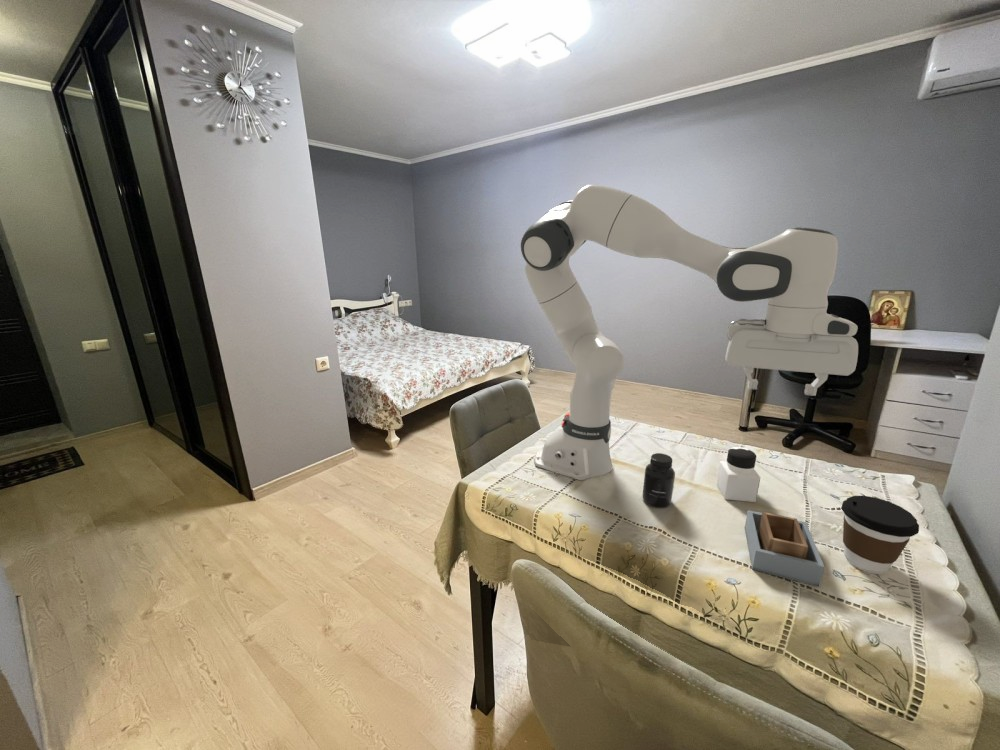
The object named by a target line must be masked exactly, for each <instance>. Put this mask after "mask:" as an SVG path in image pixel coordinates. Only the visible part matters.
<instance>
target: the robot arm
mask: <svg viewBox="0 0 1000 750" xmlns="http://www.w3.org/2000/svg"><path fill="white" fill-rule="evenodd" d="M520 240H521V241H520V250H521V251H520V252H521V254H522V258H523V259H524V260H525V262H526V264H525V266H524V267H525V268H524V270H525V275H526V279H527V281H528V283H529V286H530V288H531V290H532V292H533V294H534V296H535V299H536V300H537V302H538V304H539V306H540V307H541V309H542V310H543V312H544V314H545V316H546V318H547V320H548V321H549V324H550V325H551V327H552V328H553V331H554V333H555V334H556V336H557V339H558V340H559V342H560V344H561V346H562V348H563V350H564V352H565V353H566V356H567V358H568V359H569V361H570V362H571V364H573V365H574V368H575V378H574V382H573V387H572V389H571V391H570V393H569V411H568V412H566V413H565V414H564V416H563V417H564V418H563V419H562V421H561V427H560V428H559V429H557V430H556V431H554V432H552V433H551V434H550V435H548V437H547V438H546V439H545V440H544V443H543V446H541V448H540V449H539V450H538V451H537V452H536V454H535V456H534V465H535V466H536V467H538V468H541V469H545V470H548V471H550V472H554V473H557V474H559V475H562V476H566V477H569V478H572V479H575V480H578V481H584V480H587V479H589V478H595V477H600V476H604V475H607V474H608V473H610V472H611V471H612V469H613V463H612V458H611V451H610V439H611V433H612V432H611V431H612V426H611V425H612V424H611V423H612V422H611V419H610V418H611V417H610V415H611V414H610V413H611V401H612V400H611V399H612V394H613V391H614V386H615V382H616V379H617V378H618V376H620V374H621V373H622V371H623V369H624V365H625V361H624V360H625V359H624V355H623V353H622V351H621V349H620V348H619V346H618V345H617V344H616V343H615V342H614V341H612V340H611V339H609V338H607V337H606V336H605V335H604V334H603V333H602V332H601V330H600V329H599V327H598V325H597V322H596V320H595V316H594V314H593V310H592V306H591V303H590V302H589V300H588V299H587V296H586V295H585V293H584V291H583V289H582V287H581V285H580V283H579V282H578V280H577V278H576V276H575V274H574V272H573V271H572V269H571V267H570V266H571V265H570V258H571V257H572V256H573V255H574V254H575V253H576V252H577V251H578V250H579V249H580V248H581V246H583V245H584V244H585V243H586V242H587V241H590V242H594V243H596V244H598V245H601V246H603V247H605V248H607V249H609V250H611V251H614V252H617V253H619V254H623V255H626V256H631V257H634V258H635V257H636V258H639V259H640V258H641V259H642V258H643V259H648V258H649V259H664V260H669V261H673V262H676V263H678V264H681V265H683V266H685V267H687V268H690V269H691V270H692V269H693V270H695V271H697V272H700V273H701V274H704V275H706V276H708V277H709V278H710V279H712V280H713V281H714V282H715V283H716V284H717V288H718V289H719V291H720V293H721V294H722V295H723V296H724V297H725V298H727V299H729V300H731V301H734V302H738V303H748V302H754V301H760V300H768V305H767V309H766V315H765V319H755V318H754V319H748V318H747V319H746V318H738V320H735V321H732V322H731V323H729V325H728V328H727V334H726V337H727V339H728V340H729V341H728V343H727V348H726V352H725V358H724V359H725V362H726V363H727V365H728V366H729V367H738V368H740V367H741V368H743V372H744V374H745V376H746V378H747V386H746V387H747V390H754V391H755V390H757V391H758V385H759V381H758V379H756V378H753V377H752V375H751V374H753V373H754V369H762V370H773V371H774V370H775V371H788V372H798V373H799V372H800V373H812V374H814V375H815V377H816V378H815V379H814V380H813V381H812V382H811V383H806V384H805V385H804V393H803V394H804V395H805V396H813V397H816V395H817V391H818V388H820V387H821V386H822V385H823V384H824V383H825V382H826V381H828V378H829V375H835V376H847V377H848V376H850V375H852V374H853V373H854V372H855V371H856V369H857V368H856V367H857V363H858V358H859V357H858V356H859V343H858V341H857V339H856V338H854V337H853V336H855V335H856V334H857V332H858V329H859V328H858V325H857V324H856V323H854V322H853V321H851V320H849V319H847V318H842V317H839V316H838V315H836V314H833V313H830V314H829V313H827V310H828V306H829V301H828V293H829V289H830V287H831V285H832V284H833V282H834V278H835V274H836V268H837V263H838V262H837V261H838V254H839V253H838V252H839V243H838V242H839V241H838V239H837V237H836V236H835V234H833V233H832V232H830V231H828V230H823V229H818V228H811V227H791V228H790V227H789V228H787V229H786V230H785V231H784V232H781V233H780V234H778V235H776V236H774V237H772V238H770V239H768V240H766V241H764V242H761V243H758V244H755V245H752V246H750V247H728V246H723V245H721V244H718V243H715V242H714V241H710V240H708V239H706V238H704V237H701V236H699V235H696V234H694V233H692V232H690V231H688V230H686V229H684V228H683V227H681V226H680V225H679V224H678V223H676V222H675V221H674V220H673V219H672V218H671V217H670V216H669V215H668V214H666V213H665V212H664V211H662V210H661V209H660V208H659V207H657V206H656V205H654V204H653V203H652V202H651V203H650V202H649V201H648V200H646V199H643V198H642V197H639V196H637V195H635V194H632V193H630V192H626V191H623V190H620V189H616V188H613V187H610V186H609V187H608V186H605V185H599V184H587V185H586V186H584V187H583V186H582V188H581V189H579V191H577V192H576V194H575V195H574V197H573V199H572V200H568V201H564V202H561V203H559V204H558V205H557V206H555V207H553V208H551V209H550V210H548V211H547V212H545V213H544V214H543V215H542V216H541V217H540V218H539V219H538V220H536V222H534V223H533V224H531V225H530V226H529V227H528V228H527V229H526V231H525V233H524V234H523V236H522V238H521V239H520Z"/></svg>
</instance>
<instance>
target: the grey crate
mask: <svg viewBox="0 0 1000 750" xmlns="http://www.w3.org/2000/svg"><path fill="white" fill-rule="evenodd" d="M761 517H762V512H758V511H753V510H749V509H748V510H747V513H746V518H745V524H744V532H745V537H746V542H747V549H748V553H749V560H750V565H751V570H752V571H756V572H760V573H763V574H767V575H771V576H776V577H779V578H783V579H787V580H791V581H795V582H799V583H803V584H807V585H811V586H815V587H818V588H820V585H821V581H822V577H823V573H824V569H825V565H824V562H823V560H822V558H821V555H820V552H819V550H818V548H817V545H816V543H815V540H814V538H813V535H812V533H811V531H810V528H809V526H808V523H807V521H802V520H798V523H799V525H800V528H801V530H802V533H803V535H804V538H805V540H806V543H807V545H808V551H807V555H806V559H805V560H804V559H800V558H796V557H792V556H788V555H783V554H779V553H775V552H771V551H767V550H762V549H761V547H760V543H759V539H758V532H759V527H760V522H761Z"/></svg>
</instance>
